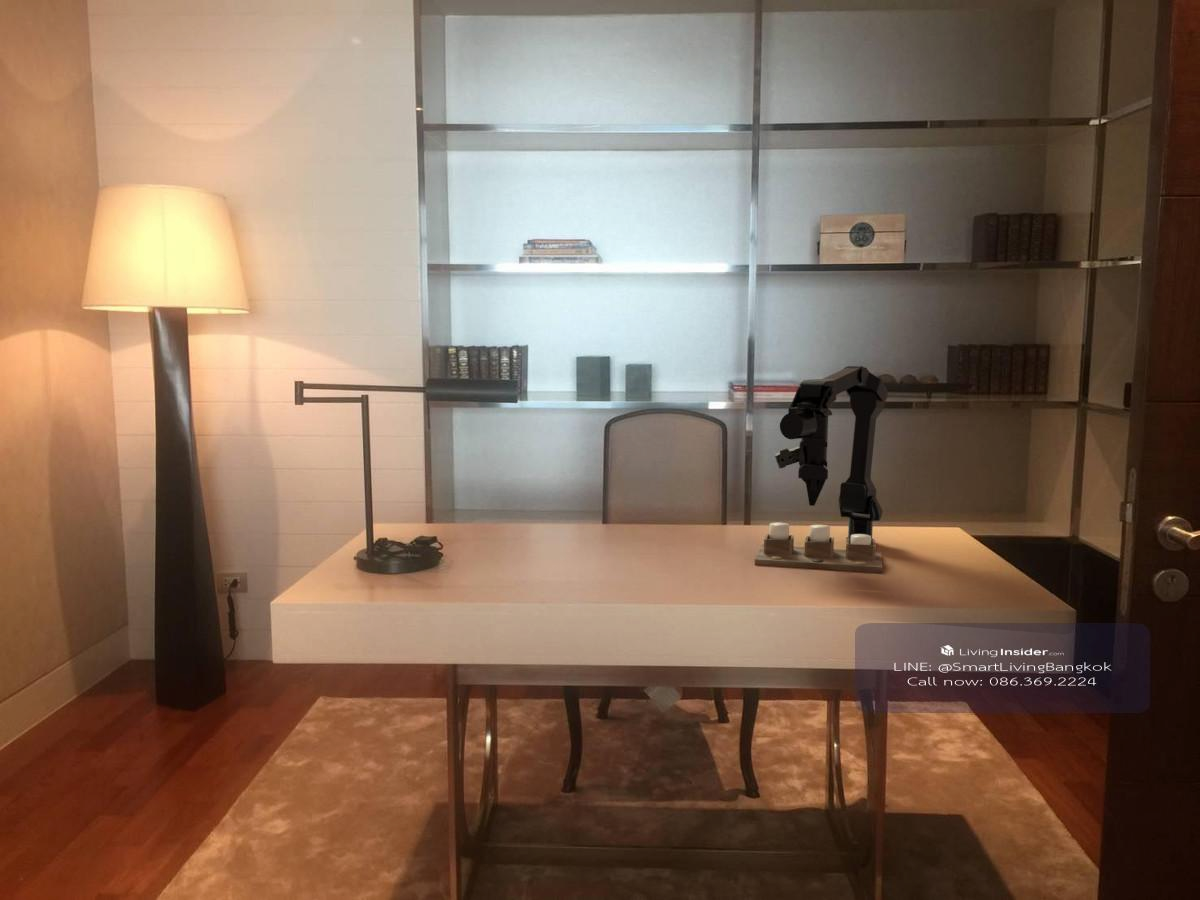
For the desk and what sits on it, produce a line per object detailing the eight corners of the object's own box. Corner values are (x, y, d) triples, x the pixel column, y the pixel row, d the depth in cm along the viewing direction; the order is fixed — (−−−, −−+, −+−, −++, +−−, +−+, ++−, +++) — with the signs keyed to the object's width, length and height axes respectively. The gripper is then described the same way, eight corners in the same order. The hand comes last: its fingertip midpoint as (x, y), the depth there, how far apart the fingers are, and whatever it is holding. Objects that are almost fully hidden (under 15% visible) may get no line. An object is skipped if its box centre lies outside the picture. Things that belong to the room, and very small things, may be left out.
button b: (809, 541, 215) (810, 524, 215) (829, 542, 214) (830, 525, 214) (808, 545, 211) (809, 528, 211) (829, 546, 210) (829, 529, 210)
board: (761, 549, 222) (761, 531, 222) (880, 556, 215) (881, 537, 215) (754, 564, 208) (755, 544, 208) (881, 572, 201) (882, 552, 201)
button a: (850, 550, 213) (850, 533, 213) (870, 552, 212) (871, 534, 212) (850, 555, 209) (850, 537, 209) (870, 556, 208) (871, 538, 207)
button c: (770, 539, 218) (770, 522, 217) (789, 540, 217) (789, 523, 216) (768, 543, 214) (768, 525, 213) (788, 544, 212) (788, 526, 212)
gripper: (779, 431, 221) (777, 497, 223) (776, 439, 203) (773, 510, 205) (828, 433, 218) (825, 499, 220) (829, 441, 200) (826, 513, 202)
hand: (811, 505), depth 212 cm, fingers closed
